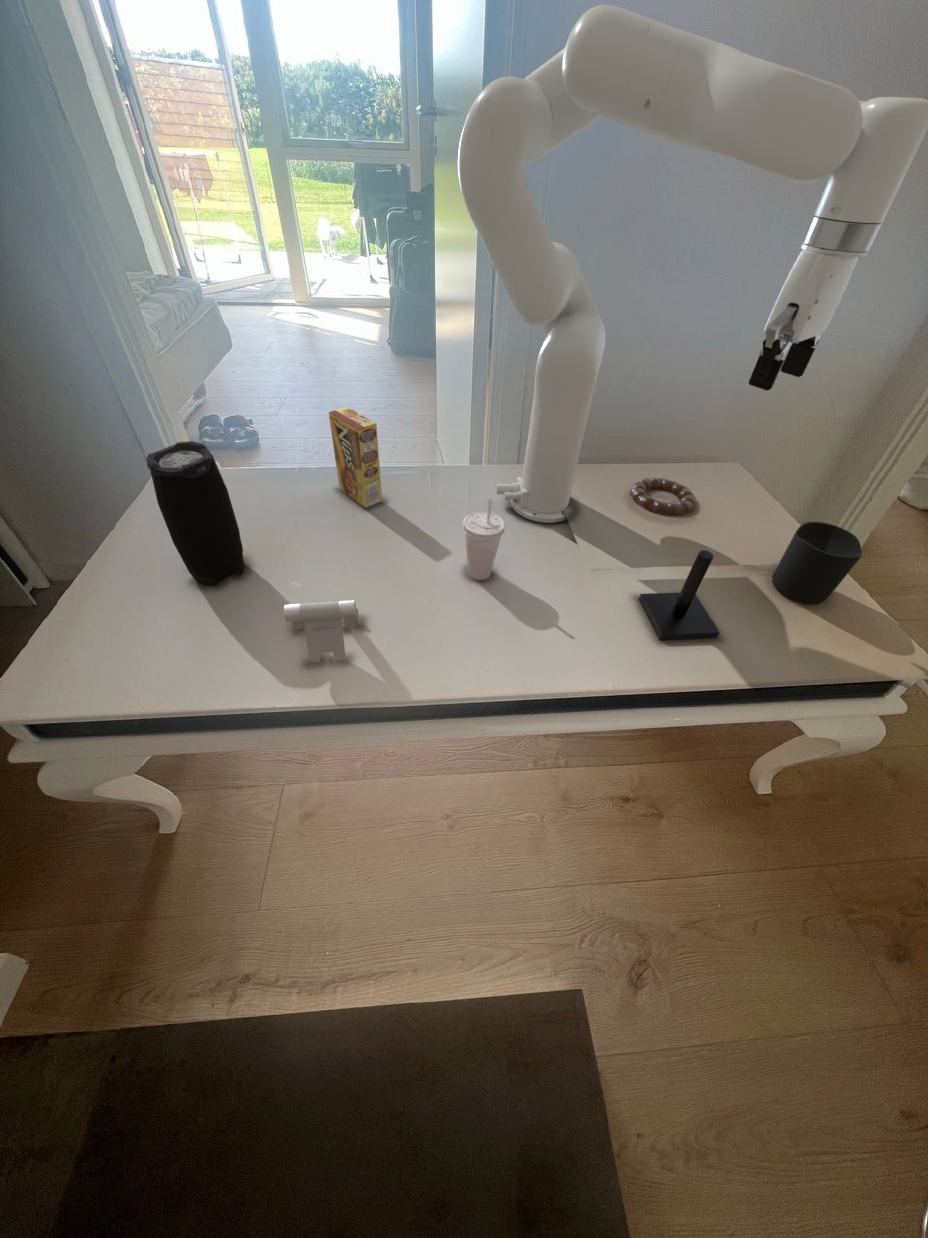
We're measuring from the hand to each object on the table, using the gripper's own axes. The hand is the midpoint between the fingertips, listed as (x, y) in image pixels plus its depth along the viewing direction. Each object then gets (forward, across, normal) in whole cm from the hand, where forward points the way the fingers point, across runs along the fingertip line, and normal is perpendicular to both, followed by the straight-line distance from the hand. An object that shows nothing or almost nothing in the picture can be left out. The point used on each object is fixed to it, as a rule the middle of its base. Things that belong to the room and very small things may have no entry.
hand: (775, 380), depth 77 cm
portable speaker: (+28, +74, -42) cm, 89 cm away
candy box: (+28, +44, -48) cm, 71 cm away
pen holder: (+28, 0, +18) cm, 33 cm away
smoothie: (+28, +41, -17) cm, 52 cm away
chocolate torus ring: (+26, -3, -12) cm, 29 cm away
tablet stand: (+28, +68, -18) cm, 75 cm away
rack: (+28, +23, +9) cm, 38 cm away
